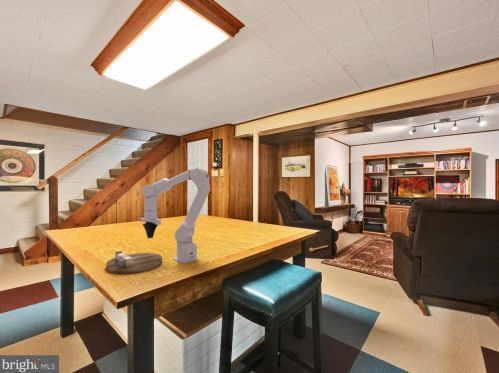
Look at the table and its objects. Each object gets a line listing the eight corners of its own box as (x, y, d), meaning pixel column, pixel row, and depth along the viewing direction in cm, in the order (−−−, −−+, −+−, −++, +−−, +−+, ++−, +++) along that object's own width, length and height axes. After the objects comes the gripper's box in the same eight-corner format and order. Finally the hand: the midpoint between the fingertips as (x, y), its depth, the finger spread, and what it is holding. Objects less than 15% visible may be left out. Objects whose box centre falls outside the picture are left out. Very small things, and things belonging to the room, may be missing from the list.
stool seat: (171, 264, 105) (171, 252, 105) (118, 278, 88) (119, 265, 88) (147, 254, 119) (147, 244, 119) (98, 265, 102) (98, 253, 102)
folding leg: (114, 259, 103) (114, 251, 103) (120, 258, 105) (121, 250, 105) (126, 267, 94) (126, 258, 94) (133, 265, 96) (133, 257, 96)
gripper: (166, 210, 113) (166, 238, 113) (149, 208, 121) (149, 234, 121) (153, 211, 107) (152, 241, 107) (136, 209, 116) (136, 236, 116)
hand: (150, 237), depth 114 cm, fingers closed
